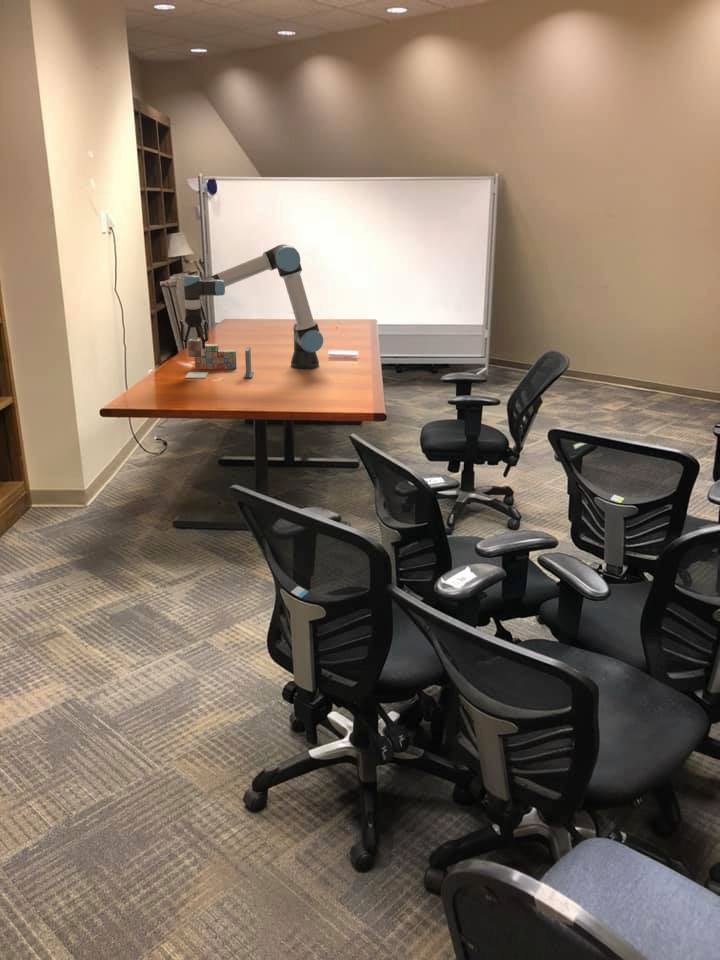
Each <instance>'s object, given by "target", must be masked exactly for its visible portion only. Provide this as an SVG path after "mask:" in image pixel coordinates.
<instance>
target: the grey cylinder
mask: <svg viewBox="0 0 720 960" xmlns="http://www.w3.org/2000/svg"><path fill="white" fill-rule="evenodd" d="M187 342H188V356H187V357H188V358H195V357H201V342H202V341H201V338H190V339H188V341H187Z"/></svg>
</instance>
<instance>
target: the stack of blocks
mask: <svg viewBox="0 0 720 960" xmlns="http://www.w3.org/2000/svg"><path fill="white" fill-rule="evenodd" d="M194 368H195V370H237V349H219V344H218V343H205V349H203V356H201V357H194Z"/></svg>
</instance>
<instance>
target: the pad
mask: <svg viewBox="0 0 720 960" xmlns="http://www.w3.org/2000/svg"><path fill="white" fill-rule="evenodd" d="M208 375H209V372H208V371H207V372H206V371H202V372H201V371H190V372H189V371H188V373H187V374H186V375H185V377H184V379H185V378H197V379H198V380H200V379H202V380H204V379H205V380H206V378H207V376H208ZM197 379H196V380H197Z"/></svg>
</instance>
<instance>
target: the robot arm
mask: <svg viewBox="0 0 720 960" xmlns="http://www.w3.org/2000/svg"><path fill="white" fill-rule="evenodd" d="M300 255H301V254H300V253H299V251H298V250H297V249H296V248H295V247H294V246H291V245H288V244H283V243H282V244H279V245H276V246H274V247H272V248H271V249H268V250H266V251H264V252H263V253H262V255H260V256H258V257H254V258H253V259H250V260H247V261H245V262H243V263H240V264H237V265H236V266H233V267H230V268H228V269H225V270H222V271H220V272H218V273H216V274H212V275H210V276H206V277H204V278H203V279H200V276H199V275H196V274H195V275H193V274H191V275H185V276H184V277H183V295H184V307H185V309H184V311H185V312H184V313H185V318H184V319H182V320H179V326H180V341H181V342H183V343H184V348H185V349H186V352H187V357H189V356H188V341H189V336H190V334H191V333H190V332H191V329H192V328H196V330H197V331H198V335H199V339H200V340H201V341H202V342H201V356H203V349H205V344H206V342H208V341H209V339H210V338H209V331H208V322H209V321H208V320H204V319H203V318H202V309H201V307H202V305H201V297H203V296H207V297H209V296H210V297H211V296H215V297H220V296H225V294H226V287H229V286H232V285H233V284H237V283H238V282H241V281H243V280H247V279H248V278H250V277H254V276H256V275H258V274H261V273H264V272H265V271H274V270H277V272H278V276H279V277H280V278H281V279H283V281H284V285H285V288H286V292H287V295H288V297H289V300H290V301H289V302H290V305H291V308H292V312H293V314H294V315H293V316H294V319H295V321H296V322H295V323H294V325H293V354H292V357H291V360H290V367H291V368H294V369H295V368H296V369H314V368H318V367H319V366H320V361H319V358H318V355H317V352H318V351H320V349H321V348H322V347H323V344H324V337H323V334H322V333H321V331H320V328H319V325H318V322H317V321H316V320H314V318H313V315H312V311H311V307H310V304H309V300H308V297H307V294H306V290H305V287H304V283H303V280H302V276H301V273H302V271H303V269H302V265H301V256H300ZM201 324H202V325H203V329H204V332H203V331H202V329H201V328H202V327H201V326H200V325H201ZM185 325H187V330H186V333H185Z"/></svg>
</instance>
